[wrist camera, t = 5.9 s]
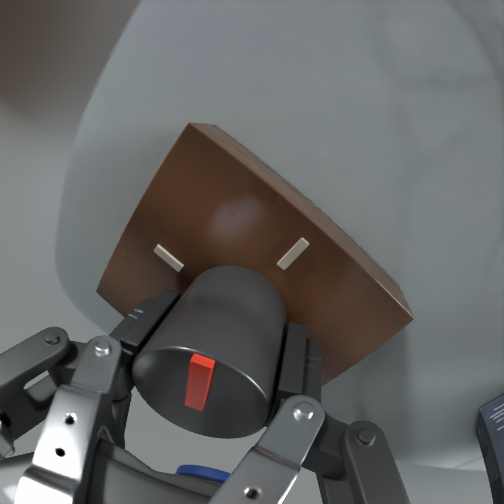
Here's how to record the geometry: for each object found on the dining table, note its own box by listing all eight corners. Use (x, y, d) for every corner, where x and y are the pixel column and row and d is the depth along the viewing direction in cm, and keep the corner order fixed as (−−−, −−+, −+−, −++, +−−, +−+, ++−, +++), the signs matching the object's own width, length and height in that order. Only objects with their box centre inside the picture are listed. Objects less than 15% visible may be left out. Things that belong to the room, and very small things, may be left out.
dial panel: (274, 381, 18) (267, 419, 15) (124, 267, 16) (93, 293, 13) (399, 285, 13) (415, 320, 10) (214, 124, 12) (186, 121, 9)
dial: (271, 360, 13) (249, 457, 8) (183, 331, 13) (132, 415, 8) (302, 283, 11) (290, 390, 6) (194, 250, 11) (120, 330, 7)
